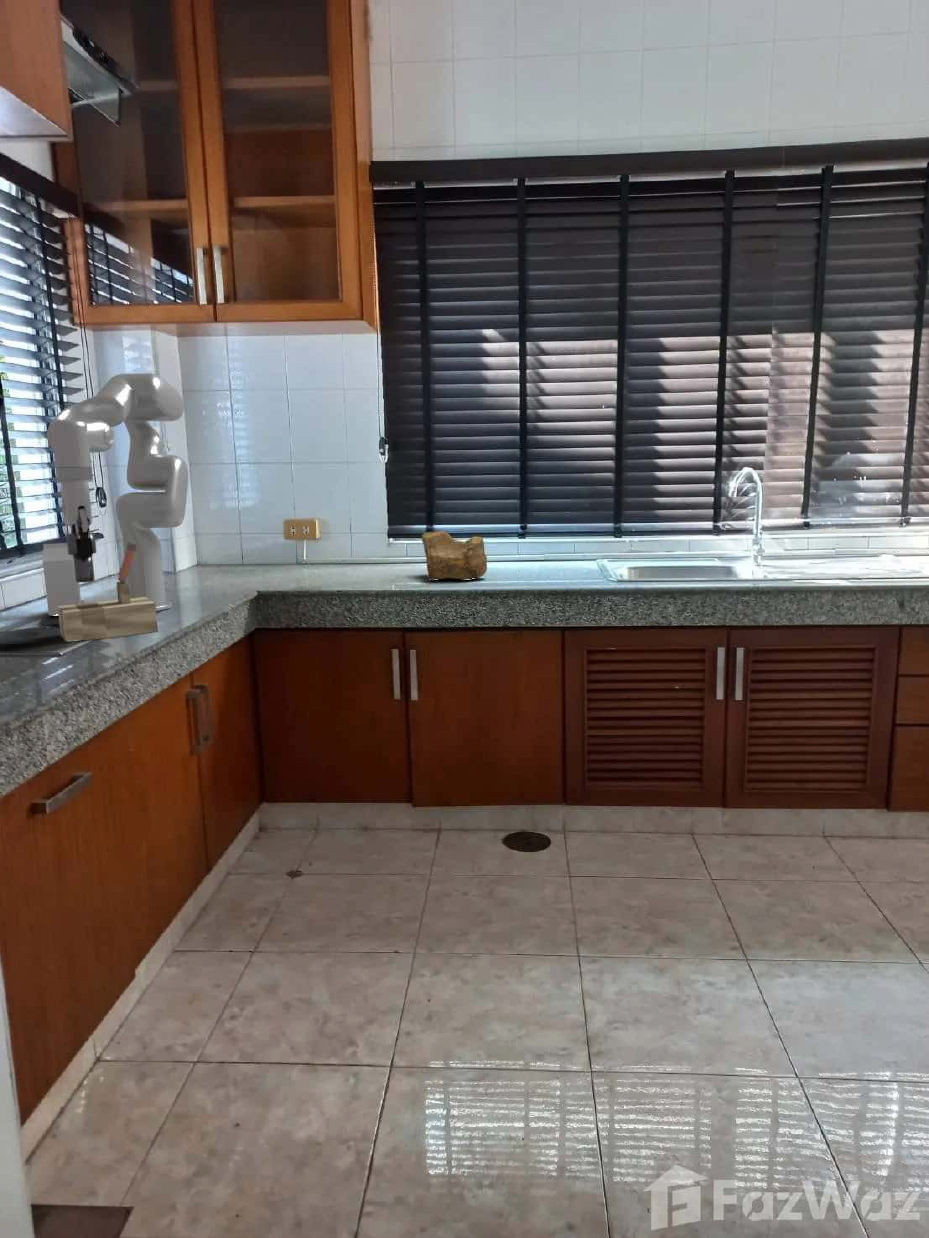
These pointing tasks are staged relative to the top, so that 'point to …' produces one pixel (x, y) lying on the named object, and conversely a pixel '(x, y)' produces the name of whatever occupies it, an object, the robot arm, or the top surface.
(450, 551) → the rough brown rock
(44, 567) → the milk carton
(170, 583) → the top surface
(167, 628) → the top surface
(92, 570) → the dark grey metal block
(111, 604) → the block
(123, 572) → the keeper bar
